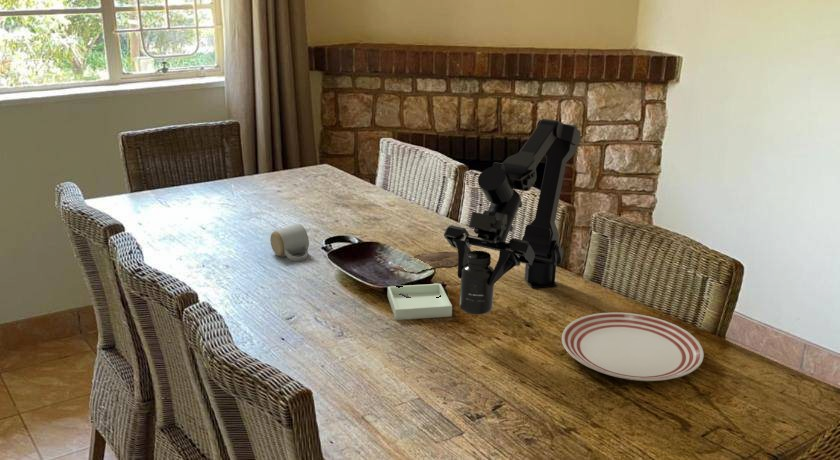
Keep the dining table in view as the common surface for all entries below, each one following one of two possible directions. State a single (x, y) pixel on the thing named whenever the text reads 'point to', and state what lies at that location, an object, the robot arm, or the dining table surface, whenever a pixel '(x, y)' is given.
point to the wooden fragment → (436, 259)
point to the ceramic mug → (290, 242)
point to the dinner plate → (632, 346)
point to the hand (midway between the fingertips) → (474, 281)
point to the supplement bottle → (476, 284)
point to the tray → (419, 302)
